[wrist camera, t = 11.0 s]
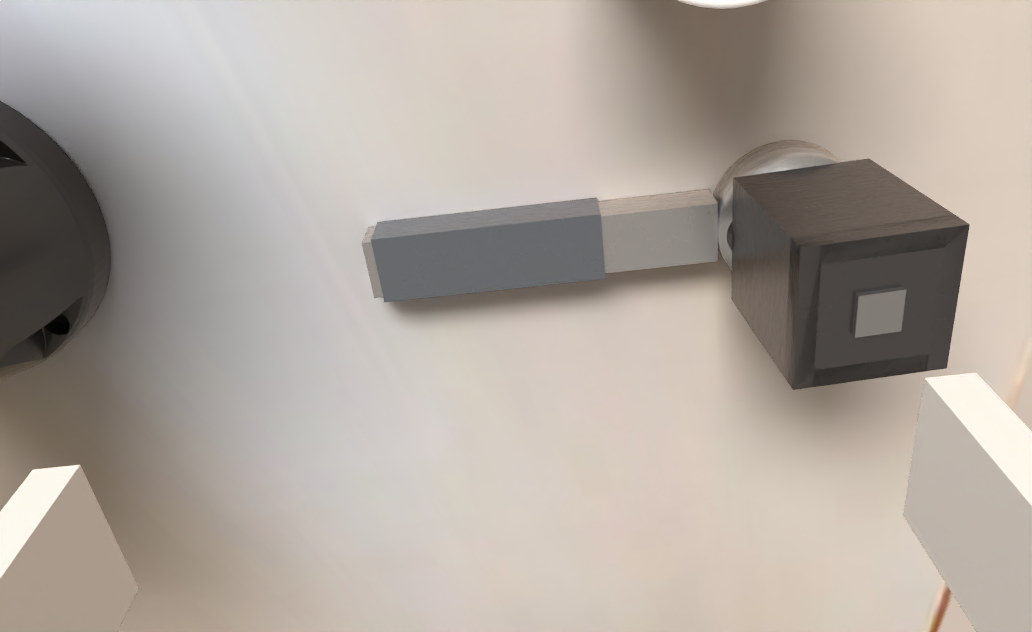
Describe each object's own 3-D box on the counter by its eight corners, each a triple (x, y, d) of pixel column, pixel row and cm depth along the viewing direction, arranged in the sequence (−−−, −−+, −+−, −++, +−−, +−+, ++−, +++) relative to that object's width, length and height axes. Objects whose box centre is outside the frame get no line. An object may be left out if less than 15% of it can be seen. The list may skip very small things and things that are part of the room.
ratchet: (387, 313, 43) (368, 380, 37) (360, 189, 40) (333, 242, 34) (846, 265, 42) (898, 327, 36) (857, 132, 38) (916, 177, 33)
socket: (731, 299, 39) (795, 392, 32) (732, 177, 36) (803, 250, 29) (857, 281, 39) (949, 371, 32) (868, 158, 36) (973, 226, 29)
